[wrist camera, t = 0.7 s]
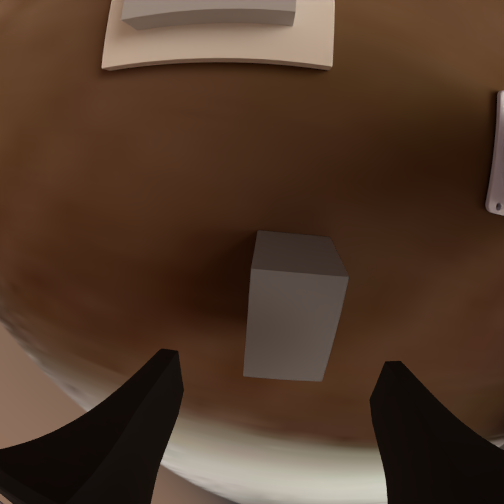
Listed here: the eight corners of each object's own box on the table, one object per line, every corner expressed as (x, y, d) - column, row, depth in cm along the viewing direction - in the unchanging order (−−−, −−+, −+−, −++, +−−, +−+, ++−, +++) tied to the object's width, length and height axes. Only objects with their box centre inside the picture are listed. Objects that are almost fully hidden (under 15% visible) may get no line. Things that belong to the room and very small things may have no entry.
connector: (329, 236, 17) (349, 277, 12) (313, 325, 19) (321, 381, 14) (257, 229, 17) (251, 268, 12) (250, 320, 19) (243, 376, 15)
